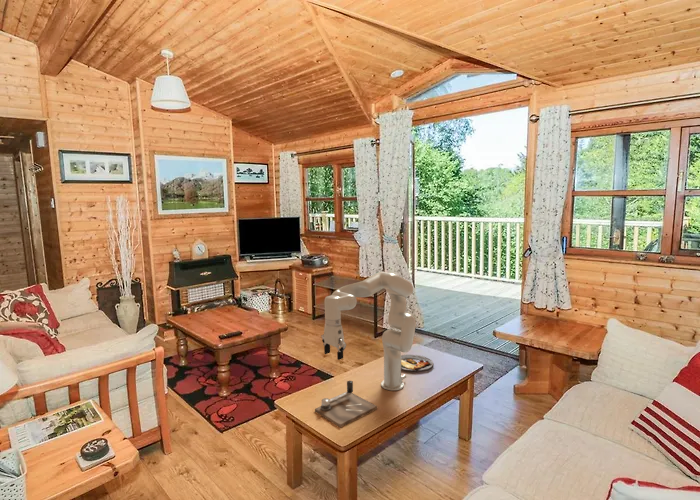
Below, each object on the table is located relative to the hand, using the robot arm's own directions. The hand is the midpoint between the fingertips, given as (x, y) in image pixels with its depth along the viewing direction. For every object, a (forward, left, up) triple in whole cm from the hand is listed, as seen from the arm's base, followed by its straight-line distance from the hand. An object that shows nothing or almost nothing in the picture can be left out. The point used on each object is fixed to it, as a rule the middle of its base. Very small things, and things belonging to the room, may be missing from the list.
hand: (333, 356), depth 195 cm
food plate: (-71, -9, -29) cm, 77 cm away
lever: (-5, -3, -25) cm, 26 cm away
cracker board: (-5, +3, -28) cm, 29 cm away
